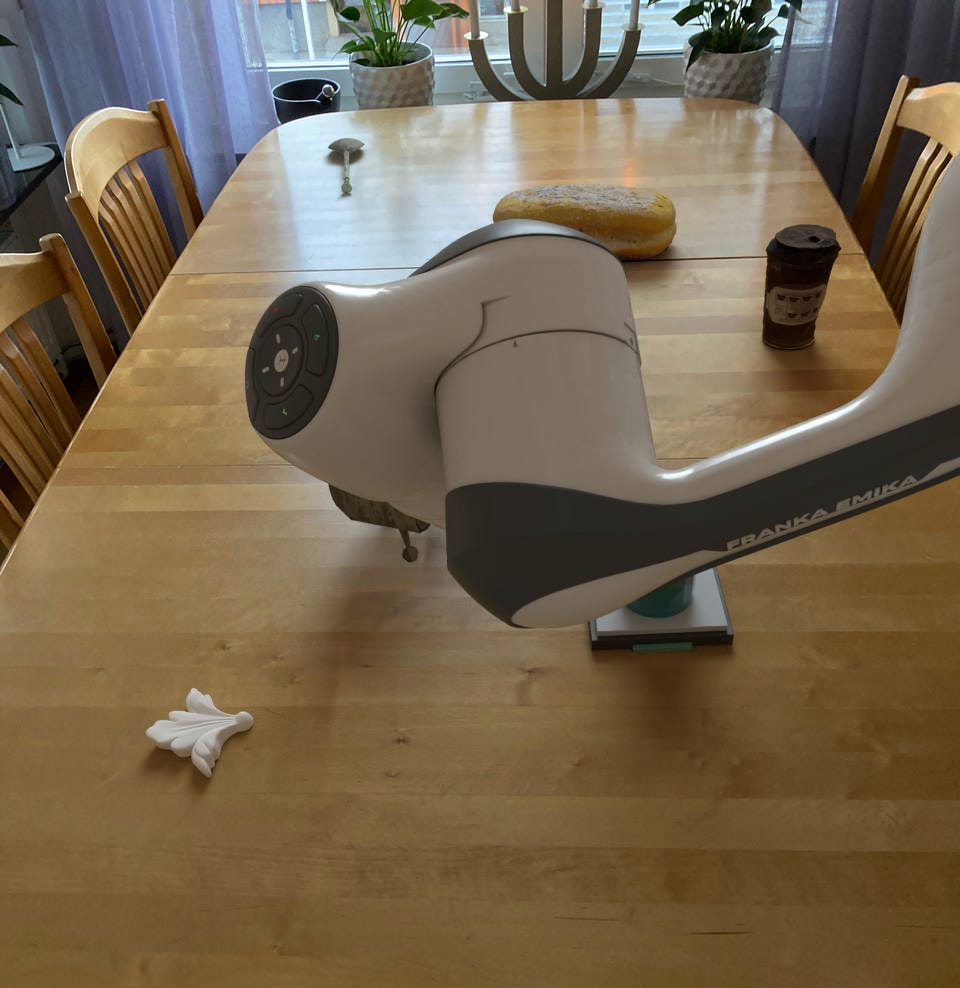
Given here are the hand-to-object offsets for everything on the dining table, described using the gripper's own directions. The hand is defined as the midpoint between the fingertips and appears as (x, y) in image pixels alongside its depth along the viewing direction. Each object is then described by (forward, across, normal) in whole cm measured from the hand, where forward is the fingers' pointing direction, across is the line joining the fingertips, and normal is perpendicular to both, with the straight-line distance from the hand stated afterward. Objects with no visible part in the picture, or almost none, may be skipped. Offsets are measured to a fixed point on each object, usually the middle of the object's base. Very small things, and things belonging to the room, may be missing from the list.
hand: (569, 510), depth 70 cm
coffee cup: (+59, -16, +32) cm, 69 cm away
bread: (+64, -53, +37) cm, 91 cm away
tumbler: (+20, 0, -3) cm, 21 cm away
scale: (+23, 0, -5) cm, 24 cm away
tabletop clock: (+20, -28, -8) cm, 36 cm away
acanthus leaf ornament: (-1, -22, -30) cm, 37 cm away
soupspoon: (+65, -105, +38) cm, 129 cm away
